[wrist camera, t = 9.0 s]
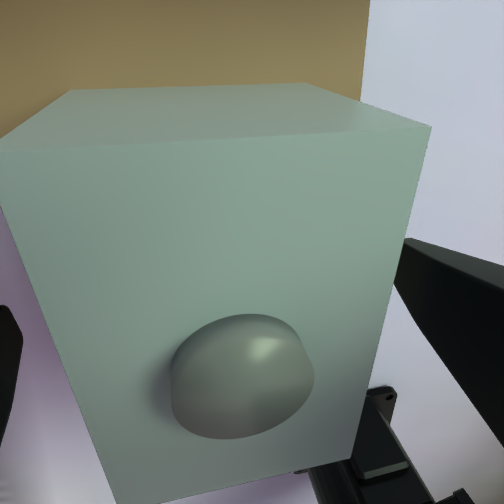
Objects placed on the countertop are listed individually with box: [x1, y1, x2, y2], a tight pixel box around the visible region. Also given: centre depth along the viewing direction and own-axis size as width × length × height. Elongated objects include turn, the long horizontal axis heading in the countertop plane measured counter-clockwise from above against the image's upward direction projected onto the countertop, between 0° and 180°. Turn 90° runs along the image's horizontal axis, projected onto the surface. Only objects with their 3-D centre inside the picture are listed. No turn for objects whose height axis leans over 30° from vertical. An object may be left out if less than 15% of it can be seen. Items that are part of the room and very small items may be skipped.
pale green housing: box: [0, 83, 432, 504], centre depth 8 cm, size 6×8×6 cm
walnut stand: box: [0, 0, 370, 139], centre depth 12 cm, size 12×9×3 cm
